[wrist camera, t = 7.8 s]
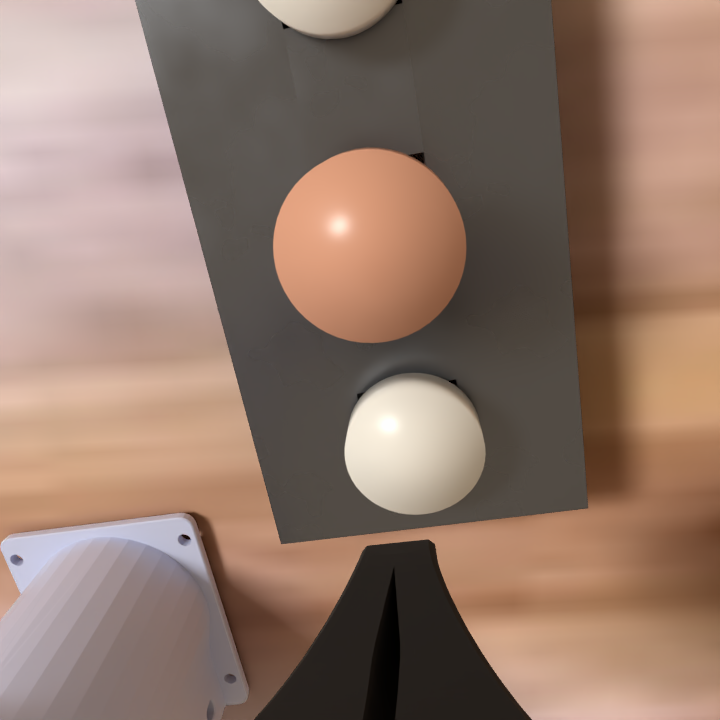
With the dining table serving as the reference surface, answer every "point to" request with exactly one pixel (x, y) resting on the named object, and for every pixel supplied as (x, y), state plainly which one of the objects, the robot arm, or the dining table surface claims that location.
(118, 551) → the robot arm
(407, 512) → the knob
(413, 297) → the middle knob
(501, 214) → the knob plate
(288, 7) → the knob
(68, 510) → the dining table surface
